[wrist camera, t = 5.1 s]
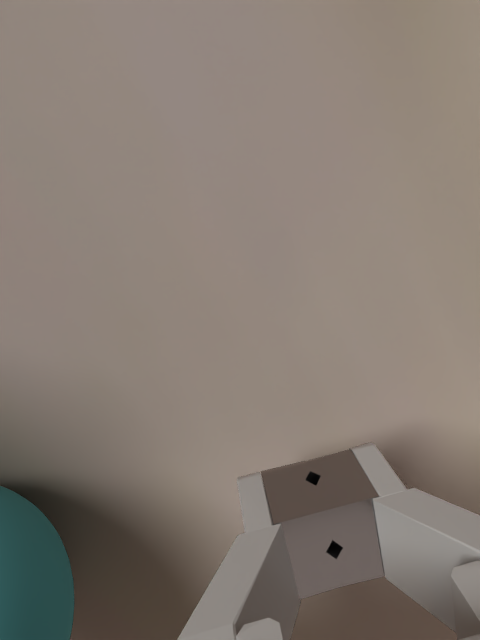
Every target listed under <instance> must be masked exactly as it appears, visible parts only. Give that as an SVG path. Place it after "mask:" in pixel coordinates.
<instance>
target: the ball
mask: <svg viewBox="0 0 480 640" xmlns="http://www.w3.org/2000/svg"><path fill="white" fill-rule="evenodd" d="M73 614H74V583H73V576H72V571H71V566H70V561H69V558H68V555H67V552H66V550H65V547H64V545H63V543H62V540H61V538H60V536H59V534H58V533H57V531H56V529H55V528H54V526H53V525H52V524H51V522H50V521H49V520H48V518H47V517H46V516H45V515H44V514H43V513H42V512H41V511H40V510H39V509H38V508H37V507H36V506H35V505H34V504H32V503H31V502H30V501H28V500H27V499H25V498H24V497H22V496H20V495H19V494H17V493H15V492H14V491H12V490H10V489H7V488H5V487H2V486H0V640H70V636H71V631H72V625H73Z"/></svg>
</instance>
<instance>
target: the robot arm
mask: <svg viewBox="0 0 480 640" xmlns="http://www.w3.org/2000/svg"><path fill="white" fill-rule="evenodd" d="M261 475H262V477H261ZM262 479H263V481H262ZM263 484H264V485H263ZM237 485H238V492H239V498H240V505H241V511H242V518H243V525H244V531H245V533H243V534H239V535H238V536H237V537H236V539H235V541H234V542H233V544H232V546H231V548H230V549H229V551H228V553H227V555H226V556H225V558H224V560H223V561H222V563H221V565H220V567H219V568H218V570H217V572H216V573H215V575H214V577H213V579H212V580H211V582H210V584H209V586H208V587H207V589H206V591H205V592H204V594H203V596H202V598H201V599H200V601H199V603H198V605H197V606H196V608H195V610H194V611H193V613H192V615H191V617H190V618H189V620H188V622H187V623H186V625H185V627H184V629H183V630H182V632H181V634H180V636H179V637H178V639H177V640H290V639H291V635H292V632H293V628H294V625H295V621H296V617H297V614H298V610H299V607H300V603H301V601H300V599H303V598H306V597H309V596H313V595H316V594H319V593H322V592H326V591H329V590H332V589H335V588H339V587H342V586H346V585H351V584H355V583H359V582H363V581H367V580H371V579H375V578H380V577H384V576H385V578H386V579H387V580H388V581H390V582H391V583H392V584H393V585H395V586H396V587H397V588H399V589H400V590H401V591H402V592H404V593H405V594H406V595H408V596H409V597H410V598H412V599H413V600H414V601H415V602H417V603H418V604H419V605H421V606H422V607H423V608H425V609H426V610H427V611H428V612H430V613H431V614H432V615H434V616H435V617H436V618H438V619H439V620H440V621H441V622H443V623H444V624H445V625H447V626H448V627H449V628H450V629H452V630H453V631H454V632H456V633H457V640H480V515H478V514H476V513H473V512H471V511H469V510H466V509H464V508H462V507H459V506H457V505H454V504H452V503H450V502H447V501H445V500H443V499H440V498H438V497H435V496H433V495H431V494H428V493H426V492H423V491H421V490H419V489H416V488H412V489H407V488H406V487H405V485H404V484H403V482H402V481H401V480H400V478H399V477H398V475H397V474H396V473H395V471H394V470H393V469H392V467H391V466H390V464H389V463H388V462H387V460H386V459H385V457H384V456H383V455H382V453H381V452H380V450H379V449H378V448H377V446H376V445H375V444H374V443H372V442H370V443H366V444H363V445H359V446H356V447H353V448H349V450H345V451H341V452H338V453H334V454H330V455H326V456H323V457H319V458H315V459H312V460H308V461H302V462H298V463H294V464H290V465H285V466H281V467H277V468H273V469H269V470H264V471H261V473H260V472H257V473H253V474H249V475H245V476H241V477H238V478H237Z"/></svg>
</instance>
